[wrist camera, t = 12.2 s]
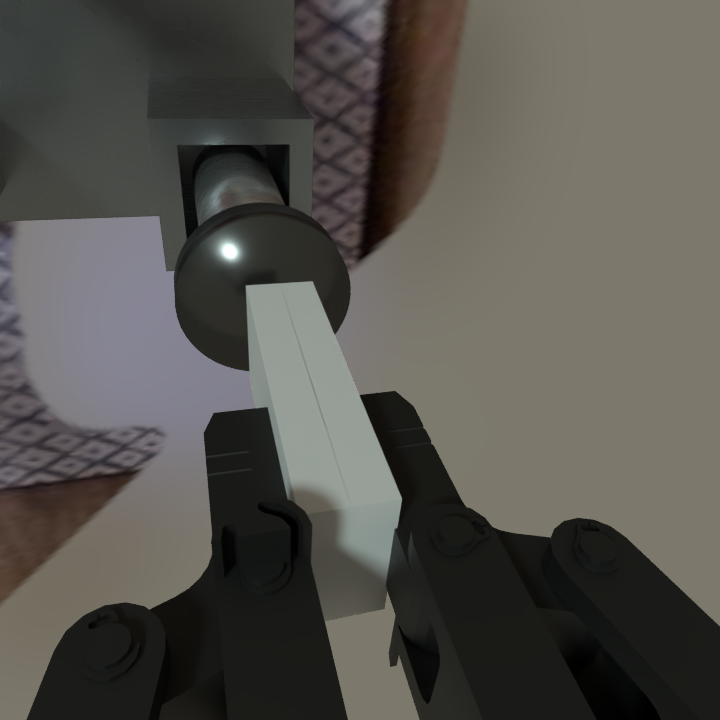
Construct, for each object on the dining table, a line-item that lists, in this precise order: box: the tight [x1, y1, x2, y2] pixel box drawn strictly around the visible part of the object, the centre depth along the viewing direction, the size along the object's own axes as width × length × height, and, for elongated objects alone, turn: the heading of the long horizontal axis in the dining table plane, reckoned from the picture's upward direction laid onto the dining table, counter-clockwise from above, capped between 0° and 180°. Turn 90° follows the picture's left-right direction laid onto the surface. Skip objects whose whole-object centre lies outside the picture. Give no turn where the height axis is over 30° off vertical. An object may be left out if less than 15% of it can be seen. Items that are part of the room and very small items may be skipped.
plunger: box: [174, 145, 350, 371], centre depth 19 cm, size 4×4×9 cm
